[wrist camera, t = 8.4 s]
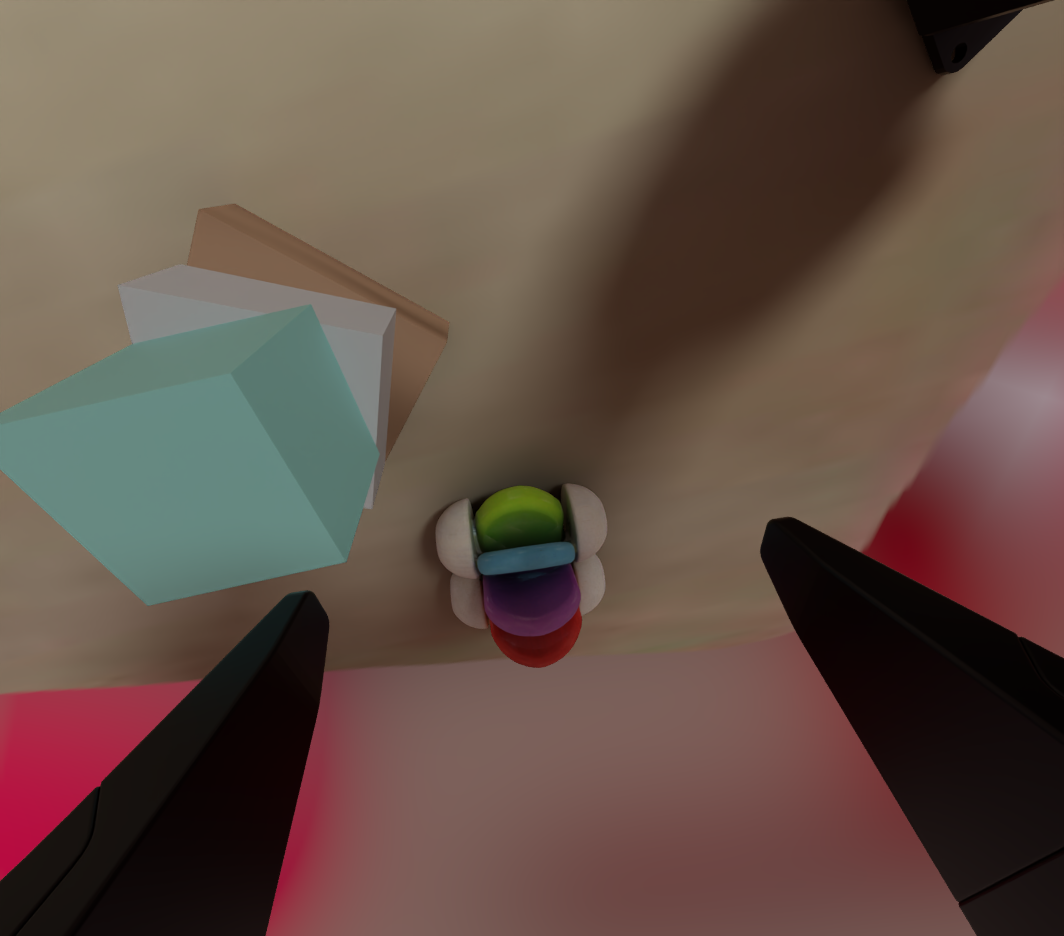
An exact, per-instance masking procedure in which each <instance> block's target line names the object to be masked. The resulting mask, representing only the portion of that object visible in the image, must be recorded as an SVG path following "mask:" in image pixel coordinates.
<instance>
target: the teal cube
mask: <svg viewBox="0 0 1064 936" xmlns="http://www.w3.org/2000/svg"><path fill="white" fill-rule="evenodd" d="M379 455H380V453H379V451H378V449H377V447H376V445H375V442H374V440H373V438H372V436H371V434H370V431H369V429H368V427H367V425H366V423H365V421H364V418H363V416H362V414H361V412H360V410H359V407H358V405H357V403H356V401H355V399H354V397H353V394H352V392H351V390H350V388H349V386H348V383H347V381H346V379H345V377H344V375H343V373H342V370H341V368H340V366H339V364H338V362H337V360H336V357H335V355H334V353H333V351H332V349H331V346H330V344H329V342H328V340H327V338H326V336H325V333H324V331H323V329H322V327H321V325H320V322H319V320H318V318H317V316H316V314H315V311H314V309H313V307H312V305H311V304H308V305H304V306H299V307H295V308H290V309H286V310H281V311H277V312H272V313H268V314H264V315H259V316H255V317H250V318H246V319H241V320H237V321H232V322H228V323H223V324H219V325H214V326H210V327H205V328H201V329H197V330H192V331H188V332H183V333H179V334H174V335H170V336H165V337H161V338H156V339H152V340H147V341H143V342H138V343H134V344H132V345H130V346H128V347H126V348H124V349H122V350H120V351H118V352H116V353H114V354H112V355H110V356H108V357H107V358H105V359H103V360H101V361H99V362H97V363H95V364H93V365H91V366H89V367H87V368H85V369H84V370H82V371H80V372H78V373H76V374H74V375H72V376H70V377H68V378H66V379H64V380H62V381H61V382H59V383H57V384H55V385H53V386H51V387H49V388H47V389H45V390H43V391H41V392H39V393H38V394H36V395H34V396H32V397H30V398H28V399H26V400H24V401H22V402H20V403H18V404H16V405H14V406H13V407H11V408H9V409H7V410H5V411H3V412H1V413H0V470H2V471H3V472H4V473H5V474H6V475H7V476H8V477H9V478H10V479H11V480H12V481H13V482H14V483H16V484H17V485H18V486H19V487H20V488H21V489H22V490H23V491H24V492H25V493H26V494H27V495H29V496H30V497H31V498H32V499H33V500H34V501H35V502H36V503H37V504H38V505H39V506H40V507H41V508H43V509H44V510H45V511H46V512H47V513H48V514H49V515H50V516H51V517H52V518H53V519H54V520H55V521H57V522H58V523H59V524H60V525H61V526H62V527H63V528H64V529H65V530H66V531H67V532H68V533H70V534H71V535H72V536H73V537H74V538H75V539H76V540H77V541H78V542H79V543H80V544H81V545H82V546H84V547H85V548H86V549H87V550H88V551H89V552H90V553H91V554H92V555H93V556H94V557H95V558H96V559H98V560H99V561H100V562H101V563H102V564H103V565H104V566H105V567H106V568H107V569H108V570H109V571H111V572H112V573H113V574H114V575H115V576H116V577H117V578H118V579H119V580H120V581H121V582H122V583H123V584H125V585H126V586H127V587H128V588H129V589H130V590H131V591H132V592H133V593H134V594H135V595H136V596H137V597H139V598H140V599H141V600H142V601H143V602H144V603H145V604H146V605H147V606H150V605H154V604H159V603H163V602H168V601H172V600H177V599H181V598H186V597H190V596H195V595H199V594H204V593H209V592H213V591H218V590H222V589H227V588H231V587H236V586H240V585H245V584H249V583H254V582H258V581H263V580H267V579H272V578H276V577H281V576H285V575H290V574H294V573H299V572H304V571H308V570H313V569H317V568H322V567H326V566H331V565H335V564H340V563H344V562H347V558H348V555H349V552H350V549H351V545H352V542H353V539H354V536H355V532H356V529H357V526H358V523H359V520H360V516H361V513H362V510H363V507H364V503H365V500H366V497H367V494H368V490H369V487H370V484H371V481H372V477H373V474H374V471H375V468H376V464H377V461H378V458H379Z"/></svg>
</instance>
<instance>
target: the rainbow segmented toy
mask: <svg viewBox="0 0 1064 936" xmlns="http://www.w3.org/2000/svg"><path fill="white" fill-rule="evenodd" d="M563 521H564V527H565V531H564V528H563ZM606 535H607V519H606V514H605V510H604V507H603V504H602V502H601V501H600V499H599V498H598V497H597V496H596V495H595V494H594V493H593V492H592V491H590V490H589V489H587V488H585V487H583V486H580V485H577V484H570V483H565V484H563V485H562V488H561V503H560V502H559V500H557V499H556V498H555V497H553V496H552V495H551V494H549V493H547V492H545V491H543V490H541V489H538V488H535V487H530V486H521V485H520V486H514V487H509V488H506V489H503V490H500V491H498V492H496V493H495V494H493V495H492V496H490V497H489V498H488V499H487V500H486V501H485V502H484V503H483V504H482V506H481V507H480V508H479V510H478V511H477V512H476V515H475V519H474V515H473V510H472V506H471V503H470V501H469V499H468V498H465V499H462V500H459V501H457V502H455V503H454V504H452V505H450V506H449V507H448V508H447V509H446V510H445V511H444V512H443V513H442V515H441V516H440V518H439V520H438V522H437V524H436V534H435V536H436V546H437V552H438V556H439V559H440V561H441V563H442V564H443V565H444V566H445V567H446V568H447V569H448V570H449V571H451V572H452V573H453V574H452V576H451V579H450V593H451V603H452V608H453V612H454V613H455V615H456V616H457V617H458V618H459V619H460V620H461V621H462V622H463V623H465V624H466V625H468V626H471V627H473V628H477V629H486V628H488V625H490V627H491V633H492V637H493V639H494V641H495V642H496V644H497V645H498V647H499V648H500V650H501V651H502V652H503V653H504V654H505V655H506V656H507V657H509V658H510V659H511V660H513V661H514V662H516V663H518V664H521V665H525V666H528V667H534V668H535V667H536V668H541V667H546V666H548V665H551V664H553V663H555V662H557V661H558V660H560V659H561V658H563V657H564V656H565V655H566V654H567V653H568V652H569V651H570V650H571V648H572V647H573V645H574V644H575V642H576V640H577V638H578V635H579V632H580V629H581V625H582V615H584V614H586V613H588V612H590V611H591V610H593V609H594V608H595V607H596V606H597V605H598V604H599V602H600V601H601V599H602V597H603V595H604V592H605V575H604V570H603V567H602V564H601V561H600V559H599V558H598V557H597V555H596V554H595V553H596V552H597V551H598V550H599V549H600V548H601V546H602V545H603V543H604V541H605V539H606Z"/></svg>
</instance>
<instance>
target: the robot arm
mask: <svg viewBox="0 0 1064 936" xmlns="http://www.w3.org/2000/svg"><path fill="white" fill-rule="evenodd" d="M1050 1H1053V0H907V2H908V5H909V8H910V10H911V13H912V16H913V19H914V21H915V24H916V27H917V30H918V33H919V35H921V36H922V38H923V41H924V44H925V46H926V49H927V52H928V55H929V58H930V60H931V63H932V66H933V69H934V71H935V72H936V74H939V75H945V74H950V73H954V72H957V71H959V70H960V69H961V68H963V67H964V66H965V65H966V64H967V63H968V62H969V61H970V60H971V59H972V58H973V57H974V56H975V55H976V54H977V53H978V52H979V51H980V50H982V49H983V48H984V47H985V46H986V45H987V44H988V43H989V42H990V41H991V40H992V39H993V38H994V37H995V36H996V35H997V34H998V33H999V32H1000V31H1001V30H1002V29H1003V28H1004V27H1005V26H1006V25H1007V24H1008V23H1009V22H1010V21H1011V20H1013V19H1014V18H1015V17H1016V16H1017V15H1018V14H1019V13H1020V12H1021V11H1022V10H1023V9H1025V8H1029V7H1032V6H1036V5H1039V4H1043V3H1046V2H1050ZM955 47H956V54H955V57H954V59H953V60H952V61H951V55H952V52H953V50H954V49H955ZM760 553H761V558H762V561H763V563H764V565H765V567H766V570H767V572H768V574H769V576H770V578H771V580H772V583H773V585H774V587H775V589H776V591H777V593H778V596H779V598H780V600H781V602H782V604H783V606H784V609H785V611H786V613H787V615H788V617H789V619H790V621H791V623H792V625H793V627H794V629H795V631H796V633H797V634H798V636H799V638H800V640H801V642H802V643H803V645H804V647H805V648H806V650H807V652H808V653H809V655H810V657H811V658H812V660H813V662H814V663H815V665H816V667H817V668H818V670H819V672H820V673H821V675H822V677H823V678H824V680H825V682H826V683H827V685H828V687H829V688H830V690H831V692H832V693H833V695H834V697H835V699H836V700H837V702H838V703H839V705H840V707H841V709H842V710H843V712H844V714H845V715H846V717H847V719H848V720H849V722H850V724H851V725H852V727H853V729H854V730H855V732H856V734H857V735H858V737H859V739H860V740H861V742H862V744H863V745H864V747H865V749H866V750H867V752H868V754H869V755H870V757H871V759H872V760H873V762H874V764H875V765H876V767H877V769H878V771H879V772H880V774H881V776H882V777H883V779H884V781H885V782H886V784H887V785H888V787H889V789H890V790H891V792H892V794H893V796H894V797H895V799H896V800H897V802H898V804H899V806H900V807H901V809H902V811H903V812H904V814H905V816H906V817H907V819H908V821H909V822H910V824H911V826H912V827H913V829H914V831H915V832H916V834H917V836H918V837H919V839H920V841H921V842H922V844H923V846H924V848H925V849H926V851H927V853H928V854H929V856H930V858H931V859H932V861H933V863H934V864H935V866H936V868H937V869H938V871H939V872H940V874H941V876H942V878H943V879H944V881H945V882H946V884H947V886H948V888H949V889H950V891H951V893H952V894H953V896H954V898H955V899H956V901H958V902H959V907H960V908H961V910H962V912H963V914H964V915H965V917H966V919H967V920H968V922H969V923H970V925H971V927H972V929H973V930H974V932H975V934H976V935H977V936H1064V658H1063V657H1060V656H1059V655H1056V654H1055V653H1053V652H1050V651H1049V650H1047V649H1044V648H1043V647H1041V646H1039V645H1037V644H1035V643H1033V642H1032V641H1029V640H1028V639H1026V638H1024V637H1018V636H1017V634H1016V633H1014V632H1012V631H1010V630H1008V629H1006V628H1004V627H1002V626H1001V625H999V624H997V623H995V622H993V621H991V620H989V619H987V618H985V617H983V616H981V615H980V614H978V613H975V612H974V611H972V610H970V609H968V608H966V607H964V606H962V605H960V604H958V603H957V602H955V601H953V600H951V599H949V598H947V597H945V596H943V595H941V594H939V593H937V592H935V591H934V590H932V589H929V588H928V587H926V586H924V585H922V584H920V583H918V582H916V581H914V580H912V579H910V578H909V577H906V576H905V575H903V574H901V573H899V572H897V571H895V570H893V569H891V568H889V567H887V566H886V565H884V564H882V563H880V562H878V561H876V560H874V559H872V558H870V557H868V556H866V555H864V554H863V553H861V552H859V551H857V550H855V549H853V548H851V547H849V546H847V545H845V544H843V543H841V542H840V541H838V540H836V539H834V538H832V537H830V536H828V535H826V534H824V533H822V532H820V531H818V530H817V529H815V528H813V527H811V526H809V525H807V524H805V523H803V522H801V521H799V520H797V519H795V518H793V517H783V518H777V519H772V520H770V521H769V522H768V523H767V526H766V530H765V533H764V537H763V540H762V544H761V548H760ZM328 634H329V619H328V616H327V614H326V612H325V610H324V609H323V607H322V605H321V604H320V602H319V600H318V599H317V597H316V596H315V594H314V593H313V592H312V591H308V590H307V591H300V592H293V593H290V594H288V595H286V596H285V597H284V598H283V599H282V600H281V601H280V602H279V603H278V604H277V605H276V606H275V607H274V608H273V609H272V610H271V611H270V612H269V613H268V614H267V615H266V616H265V617H264V618H263V619H262V620H261V621H260V622H259V623H258V624H257V625H256V626H255V627H254V628H253V629H252V630H251V631H250V632H249V633H248V634H247V635H246V636H245V637H244V638H243V639H242V640H241V641H240V642H239V643H238V644H237V645H236V646H235V647H234V648H233V649H232V650H231V651H230V652H229V653H228V654H227V655H226V656H225V657H224V658H223V659H222V660H221V662H220V663H219V664H218V665H217V666H216V667H215V668H214V669H213V670H212V671H211V672H210V673H209V674H208V675H207V676H206V677H205V678H204V679H203V680H202V681H201V682H200V683H199V684H198V685H197V686H196V687H195V688H194V689H193V690H192V691H191V692H190V693H189V694H188V695H187V696H186V697H185V698H184V699H183V700H182V701H181V702H180V703H179V704H178V705H177V706H176V707H175V708H174V709H173V710H172V711H171V712H170V713H169V714H168V715H167V716H166V717H165V718H164V719H163V720H162V721H161V722H160V723H159V724H158V725H157V726H156V727H155V728H154V729H153V730H152V731H151V732H150V733H149V734H148V735H147V736H146V737H145V738H144V739H143V740H142V741H141V742H140V743H139V744H138V745H137V746H136V747H135V748H134V749H133V750H132V751H131V752H130V753H129V754H128V756H127V757H125V759H124V760H123V761H122V762H121V763H120V764H119V765H118V766H117V767H116V768H115V769H114V770H113V771H112V772H111V773H110V774H109V775H108V776H107V777H106V778H105V779H104V780H103V781H102V782H101V786H100V787H96V788H95V789H94V790H93V791H92V792H91V793H90V794H89V795H88V796H87V797H86V798H85V799H84V800H83V801H82V802H81V803H80V804H79V805H78V806H77V807H76V808H75V809H74V810H73V811H72V812H71V813H70V814H69V815H68V816H67V817H66V818H65V819H64V820H63V821H62V822H61V823H60V824H59V825H58V826H57V827H56V828H55V829H54V830H53V831H52V832H51V833H50V834H49V835H48V836H46V838H45V839H44V840H42V841H41V842H40V843H39V844H38V846H36V847H35V848H34V849H33V850H32V851H31V852H30V853H29V854H28V855H27V856H26V857H25V858H24V859H23V860H22V861H21V862H20V863H19V864H18V865H17V866H16V867H14V869H12V870H11V871H10V872H9V873H8V874H7V875H6V876H5V877H4V878H3V879H2V880H1V881H0V936H265V935H266V931H267V927H268V923H269V919H270V914H271V910H272V906H273V901H274V897H275V893H276V889H277V885H278V880H279V876H280V872H281V867H282V863H283V859H284V855H285V850H286V846H287V842H288V838H289V833H290V829H291V825H292V821H293V816H294V812H295V807H296V803H297V799H298V795H299V791H300V787H301V782H302V778H303V774H304V770H305V765H306V761H307V757H308V752H309V748H310V744H311V740H312V735H313V731H314V727H315V723H316V718H317V713H318V709H319V704H320V697H321V690H322V682H323V674H324V666H325V658H326V650H327V642H328Z"/></svg>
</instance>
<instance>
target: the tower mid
mask: <svg viewBox="0 0 1064 936" xmlns="http://www.w3.org/2000/svg"><path fill="white" fill-rule="evenodd" d="M118 288H119V293H120V297H121V301H122V305H123V309H124V313H125V317H126V321H127V325H128V329H129V333H130V337H131V341H132V344H134V343H138V342H143V341H147V340H152V339H156V338H161V337H165V336H170V335H174V334H179V333H183V332H188V331H192V330H197V329H201V328H205V327H210V326H214V325H219V324H223V323H228V322H232V321H237V320H241V319H246V318H250V317H255V316H259V315H264V314H268V313H272V312H277V311H281V310H286V309H290V308H295V307H299V306H304V305H308V304H311V305H312V307H313V309H314V311H315V314H316V316H317V318H318V320H319V322H320V325H321V327H322V329H323V331H324V333H325V336H326V338H327V340H328V342H329V344H330V346H331V349H332V351H333V353H334V355H335V357H336V360H337V362H338V364H339V366H340V368H341V370H342V373H343V375H344V377H345V379H346V381H347V383H348V386H349V388H350V390H351V392H352V394H353V397H354V399H355V401H356V403H357V405H358V407H359V410H360V412H361V414H362V416H363V418H364V421H365V423H366V425H367V427H368V429H369V431H370V434H371V436H372V438H373V440H374V442H375V445H376V447H377V449H378V451H379V453H380V455H379V458H378V461H377V464H376V468H375V471H374V474H373V477H372V481H371V484H370V487H369V490H368V494H367V497H366V500H365V503H364V507H363V508H367V509H372V508H373V505H374V501H375V498H376V494H377V490H378V487H379V483H380V480H381V476H382V472H383V469H384V465H385V455H386V442H387V428H388V415H389V401H390V388H391V375H392V361H393V348H394V334H395V321H396V308H391V307H386V306H381V305H376V304H371V303H367V302H362V301H357V300H352V299H347V298H342V297H337V296H333V295H328V294H323V293H318V292H313V291H308V290H303V289H299V288H294V287H289V286H284V285H279V284H274V283H269V282H265V281H260V280H255V279H250V278H245V277H240V276H235V275H230V274H226V273H221V272H216V271H211V270H206V269H201V268H196V267H192V266H187V265H182V264H179V265H176V266H173V267H170V268H167V269H164V270H161V271H158V272H155V273H152V274H149V275H146V276H143V277H140V278H137V279H134V280H131V281H128V282H125V283H122V284H119V285H118Z"/></svg>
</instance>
